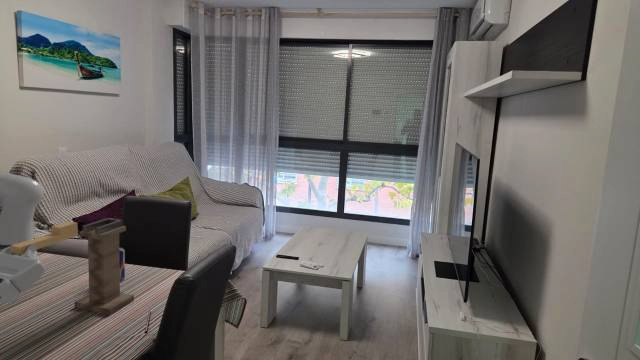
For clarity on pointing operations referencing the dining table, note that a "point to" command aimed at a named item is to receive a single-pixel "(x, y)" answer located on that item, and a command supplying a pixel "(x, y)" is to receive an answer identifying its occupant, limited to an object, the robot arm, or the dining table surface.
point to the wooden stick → (49, 237)
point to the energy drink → (122, 263)
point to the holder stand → (104, 268)
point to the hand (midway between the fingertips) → (27, 244)
